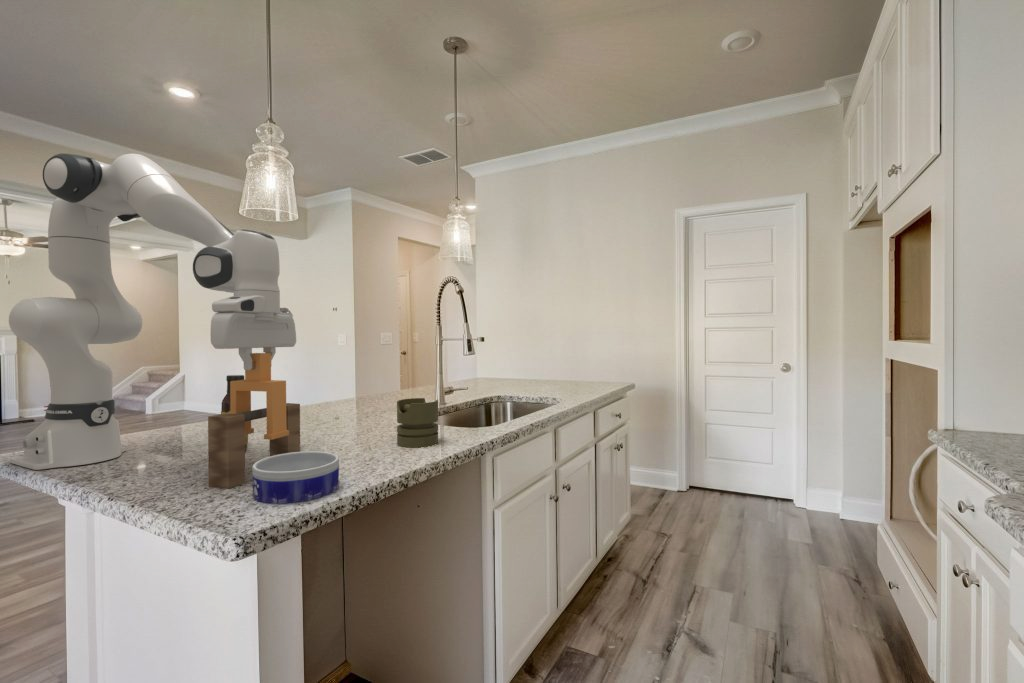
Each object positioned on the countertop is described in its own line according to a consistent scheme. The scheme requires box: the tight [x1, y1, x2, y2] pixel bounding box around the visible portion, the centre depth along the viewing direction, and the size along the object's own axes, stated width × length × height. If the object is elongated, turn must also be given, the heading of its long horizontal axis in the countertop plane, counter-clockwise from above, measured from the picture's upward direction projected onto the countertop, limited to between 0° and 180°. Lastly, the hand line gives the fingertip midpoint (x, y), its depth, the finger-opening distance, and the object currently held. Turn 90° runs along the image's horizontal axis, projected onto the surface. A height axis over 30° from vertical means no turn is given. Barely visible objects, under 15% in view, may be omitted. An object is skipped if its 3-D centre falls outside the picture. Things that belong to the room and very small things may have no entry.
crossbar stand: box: [207, 402, 301, 490], centre depth 102 cm, size 5×20×14 cm, turn 165°
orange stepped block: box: [230, 352, 289, 441], centre depth 102 cm, size 12×5×18 cm, turn 74°
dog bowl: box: [251, 450, 340, 505], centre depth 91 cm, size 15×15×6 cm
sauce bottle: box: [220, 374, 249, 451], centre depth 123 cm, size 6×6×20 cm
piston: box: [396, 397, 439, 449], centre depth 132 cm, size 11×12×11 cm
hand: (257, 369), depth 102 cm, fingers closed on orange stepped block, 3 cm apart
